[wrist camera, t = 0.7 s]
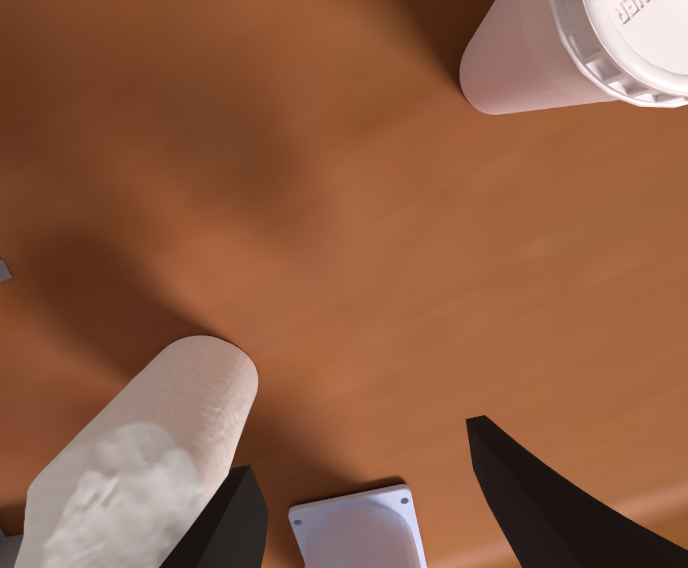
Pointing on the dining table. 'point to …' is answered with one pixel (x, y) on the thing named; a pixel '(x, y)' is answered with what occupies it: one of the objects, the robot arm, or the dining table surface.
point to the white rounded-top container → (142, 462)
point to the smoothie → (577, 54)
